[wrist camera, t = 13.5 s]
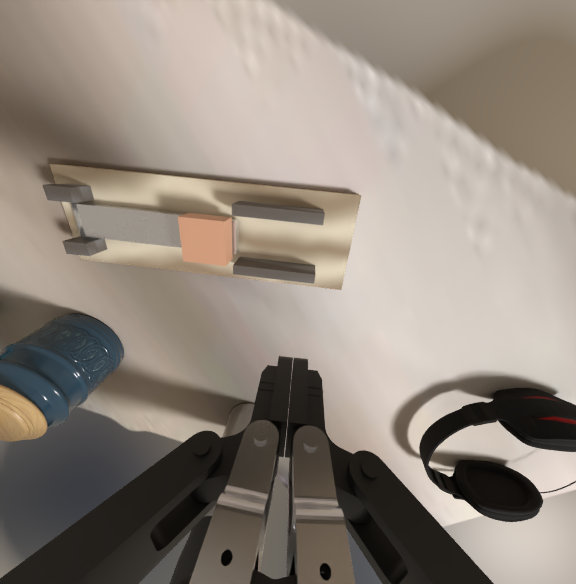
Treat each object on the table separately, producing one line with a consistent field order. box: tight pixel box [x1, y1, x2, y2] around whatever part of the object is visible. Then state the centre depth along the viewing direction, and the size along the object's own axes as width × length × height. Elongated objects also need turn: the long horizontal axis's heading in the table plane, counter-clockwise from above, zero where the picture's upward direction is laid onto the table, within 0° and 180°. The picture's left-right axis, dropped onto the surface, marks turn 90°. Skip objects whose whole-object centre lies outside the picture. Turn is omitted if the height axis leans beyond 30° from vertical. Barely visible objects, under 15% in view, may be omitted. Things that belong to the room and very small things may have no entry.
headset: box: [419, 388, 576, 522], centre depth 42 cm, size 28×26×9 cm
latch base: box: [43, 164, 361, 290], centre depth 30 cm, size 12×37×5 cm, turn 85°
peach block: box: [178, 213, 233, 266], centre depth 27 cm, size 5×5×3 cm
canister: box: [0, 314, 124, 441], centre depth 35 cm, size 13×13×18 cm
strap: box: [70, 202, 239, 254], centre depth 30 cm, size 4×21×1 cm, turn 85°
